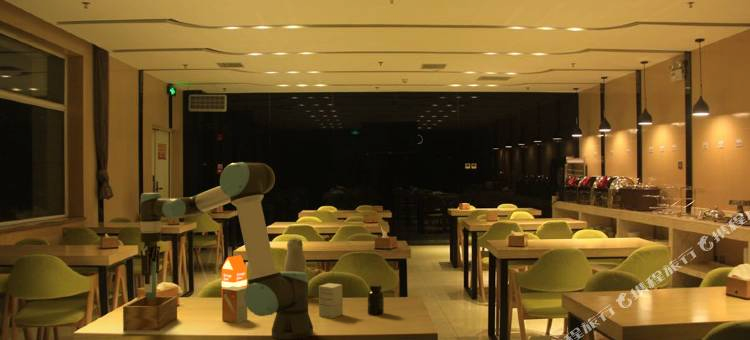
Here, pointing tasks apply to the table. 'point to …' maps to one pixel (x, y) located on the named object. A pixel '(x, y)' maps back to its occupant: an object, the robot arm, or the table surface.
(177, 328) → the table surface
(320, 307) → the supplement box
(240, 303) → the small box
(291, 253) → the beige tapered cylinder
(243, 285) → the orange juice
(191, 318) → the table surface
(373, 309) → the supplement bottle
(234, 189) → the robot arm
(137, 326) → the crate
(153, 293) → the peg
